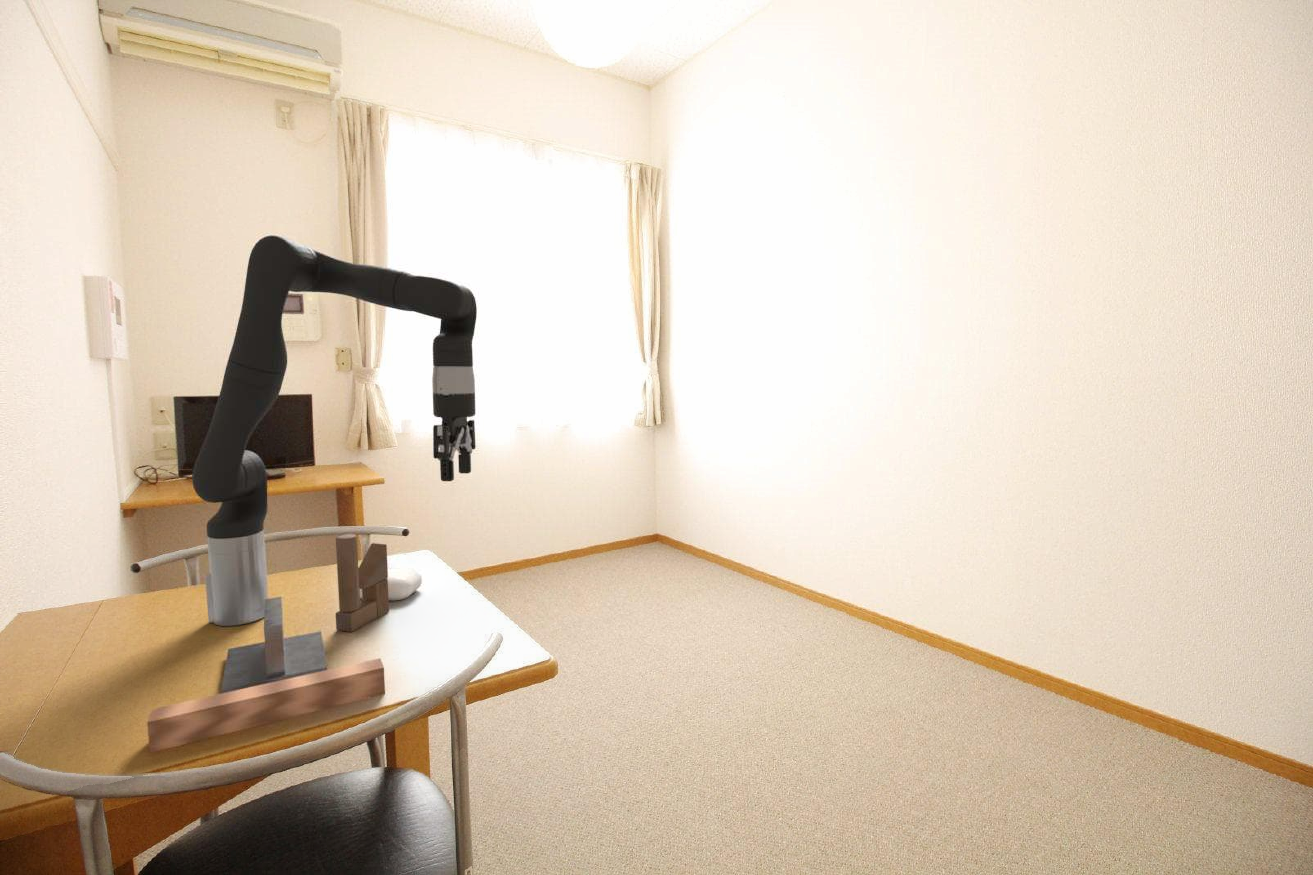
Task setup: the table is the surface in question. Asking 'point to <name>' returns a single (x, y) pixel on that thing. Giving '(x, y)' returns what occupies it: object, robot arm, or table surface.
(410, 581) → the earbud case
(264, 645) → the stand
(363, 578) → the brown wooden block stack
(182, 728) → the bar
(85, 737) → the table surface
